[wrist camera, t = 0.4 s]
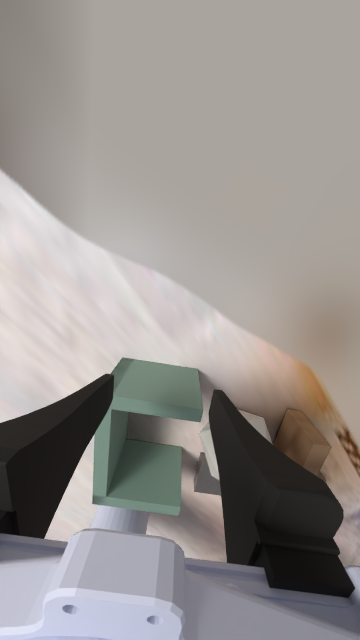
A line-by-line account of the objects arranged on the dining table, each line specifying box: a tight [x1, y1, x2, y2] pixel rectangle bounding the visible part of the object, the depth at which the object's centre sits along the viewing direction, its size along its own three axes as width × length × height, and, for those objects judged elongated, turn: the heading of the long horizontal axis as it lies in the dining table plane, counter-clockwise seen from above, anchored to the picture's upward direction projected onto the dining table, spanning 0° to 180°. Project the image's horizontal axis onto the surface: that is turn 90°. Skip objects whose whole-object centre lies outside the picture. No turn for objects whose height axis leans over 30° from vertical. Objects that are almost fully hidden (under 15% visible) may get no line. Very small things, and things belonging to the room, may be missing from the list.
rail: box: [194, 453, 326, 495], centre depth 27 cm, size 6×18×2 cm, turn 81°
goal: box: [92, 358, 203, 516], centre depth 21 cm, size 15×10×7 cm, turn 171°
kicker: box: [274, 409, 332, 476], centre depth 21 cm, size 16×7×9 cm, turn 171°
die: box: [199, 409, 272, 481], centre depth 21 cm, size 8×9×10 cm
